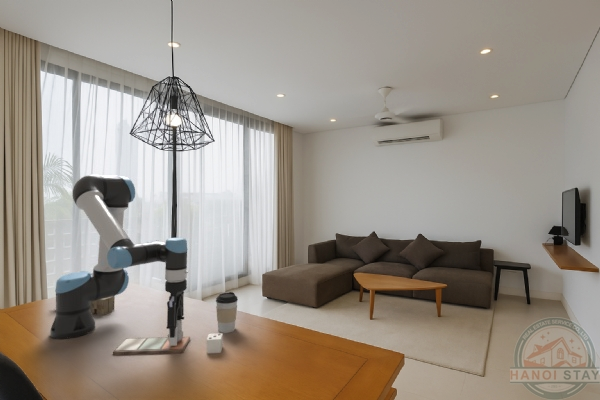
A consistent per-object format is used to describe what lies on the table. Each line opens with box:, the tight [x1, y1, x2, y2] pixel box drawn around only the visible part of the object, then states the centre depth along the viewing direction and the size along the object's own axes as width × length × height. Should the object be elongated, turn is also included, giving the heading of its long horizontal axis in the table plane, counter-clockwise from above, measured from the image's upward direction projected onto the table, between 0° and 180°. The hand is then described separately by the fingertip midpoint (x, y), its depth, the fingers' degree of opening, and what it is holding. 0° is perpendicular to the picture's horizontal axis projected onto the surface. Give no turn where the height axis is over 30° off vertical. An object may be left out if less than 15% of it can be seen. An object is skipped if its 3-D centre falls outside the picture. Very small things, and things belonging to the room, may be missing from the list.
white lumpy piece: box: [167, 320, 184, 342], centre depth 122 cm, size 5×7×8 cm
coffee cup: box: [215, 291, 238, 334], centre depth 138 cm, size 9×9×15 cm
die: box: [206, 332, 224, 354], centre depth 120 cm, size 5×5×5 cm
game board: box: [112, 336, 191, 356], centre depth 122 cm, size 24×11×1 cm, turn 96°
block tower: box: [90, 295, 116, 316], centre depth 160 cm, size 8×8×29 cm
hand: (175, 341), depth 122 cm, fingers closed on white lumpy piece, 6 cm apart
